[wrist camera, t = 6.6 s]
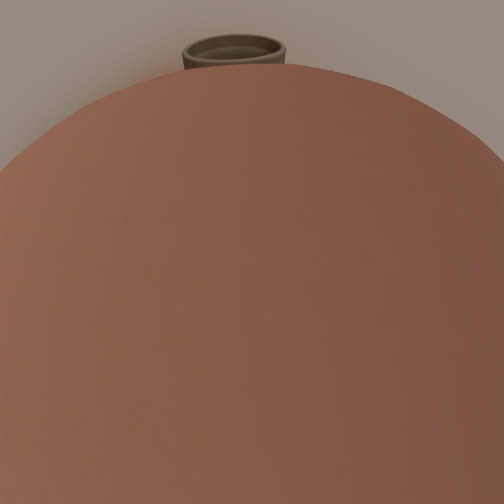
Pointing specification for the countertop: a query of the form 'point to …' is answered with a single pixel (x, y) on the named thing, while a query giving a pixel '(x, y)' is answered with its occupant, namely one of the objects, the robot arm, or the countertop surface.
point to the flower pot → (233, 51)
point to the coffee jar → (253, 298)
